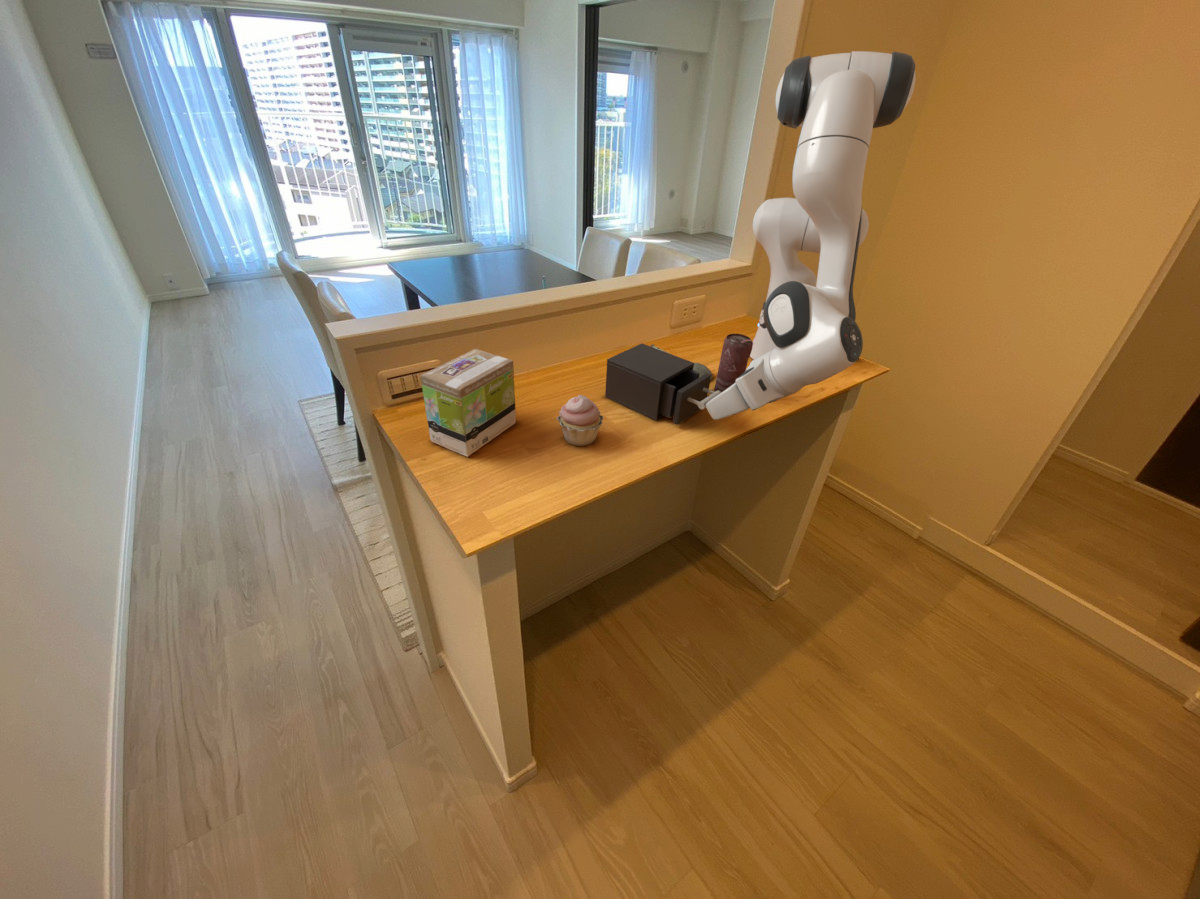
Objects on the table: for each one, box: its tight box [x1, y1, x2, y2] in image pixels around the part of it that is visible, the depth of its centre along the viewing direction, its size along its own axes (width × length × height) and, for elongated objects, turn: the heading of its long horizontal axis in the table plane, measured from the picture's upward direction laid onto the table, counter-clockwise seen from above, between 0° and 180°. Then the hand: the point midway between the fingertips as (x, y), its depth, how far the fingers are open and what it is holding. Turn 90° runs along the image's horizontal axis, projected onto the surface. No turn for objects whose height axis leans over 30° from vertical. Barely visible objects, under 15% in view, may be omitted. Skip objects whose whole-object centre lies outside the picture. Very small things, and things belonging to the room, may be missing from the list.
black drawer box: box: [604, 343, 695, 422], centre depth 111 cm, size 15×13×10 cm
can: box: [713, 333, 753, 393], centre depth 113 cm, size 6×6×14 cm
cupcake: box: [555, 394, 604, 447], centre depth 96 cm, size 9×9×10 cm
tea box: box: [420, 348, 517, 458], centre depth 95 cm, size 15×10×15 cm, turn 151°
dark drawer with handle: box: [659, 369, 721, 426], centre depth 107 cm, size 18×11×8 cm, turn 49°
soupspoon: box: [649, 344, 714, 381], centre depth 128 cm, size 22×3×7 cm
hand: (715, 403), depth 101 cm, fingers closed, pressing on dark drawer with handle
